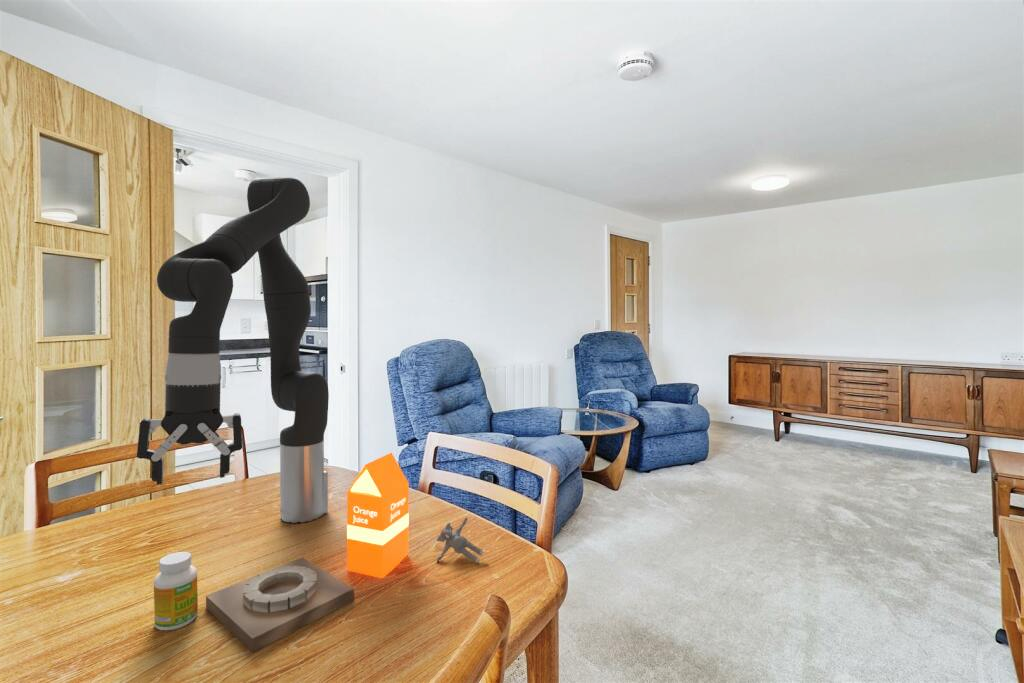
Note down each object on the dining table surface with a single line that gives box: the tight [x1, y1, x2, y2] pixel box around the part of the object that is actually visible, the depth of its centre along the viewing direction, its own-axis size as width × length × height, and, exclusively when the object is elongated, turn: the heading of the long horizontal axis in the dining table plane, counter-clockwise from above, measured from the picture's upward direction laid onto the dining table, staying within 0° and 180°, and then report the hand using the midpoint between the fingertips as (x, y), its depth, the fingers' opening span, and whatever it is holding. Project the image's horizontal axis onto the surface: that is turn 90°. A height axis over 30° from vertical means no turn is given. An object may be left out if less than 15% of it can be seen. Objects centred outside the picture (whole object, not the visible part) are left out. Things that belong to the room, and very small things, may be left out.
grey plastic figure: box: [436, 517, 484, 564], centre depth 94 cm, size 10×6×9 cm
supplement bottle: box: [153, 551, 199, 631], centre depth 74 cm, size 5×5×10 cm
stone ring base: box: [205, 557, 355, 653], centre depth 78 cm, size 16×16×4 cm
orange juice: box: [346, 452, 410, 579], centre depth 91 cm, size 8×9×20 cm
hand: (191, 479), depth 80 cm, fingers open, 8 cm apart
